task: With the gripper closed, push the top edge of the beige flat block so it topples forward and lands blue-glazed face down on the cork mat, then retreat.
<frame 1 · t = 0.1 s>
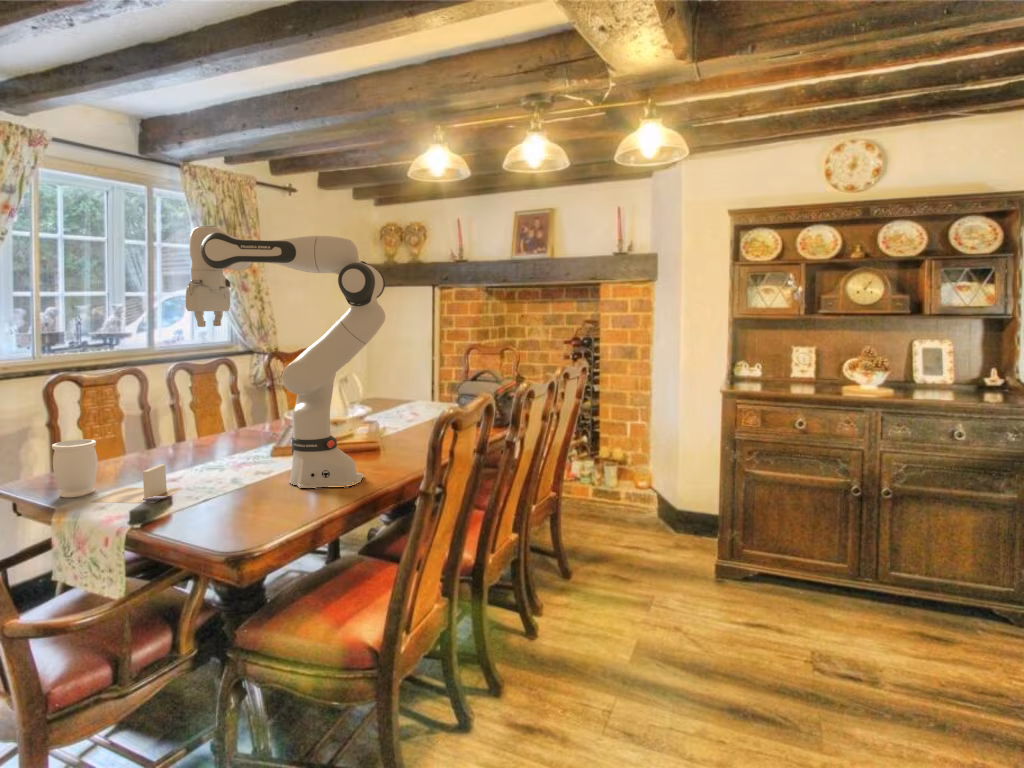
hand: (209, 326, 190), 48 cm above the table, fingers open, 8 cm apart
cork mat: (138, 497, 176), on the table
beige flat block: (155, 495, 176), point 1 cm above the table, touching cork mat
jar: (77, 494, 179), on the table
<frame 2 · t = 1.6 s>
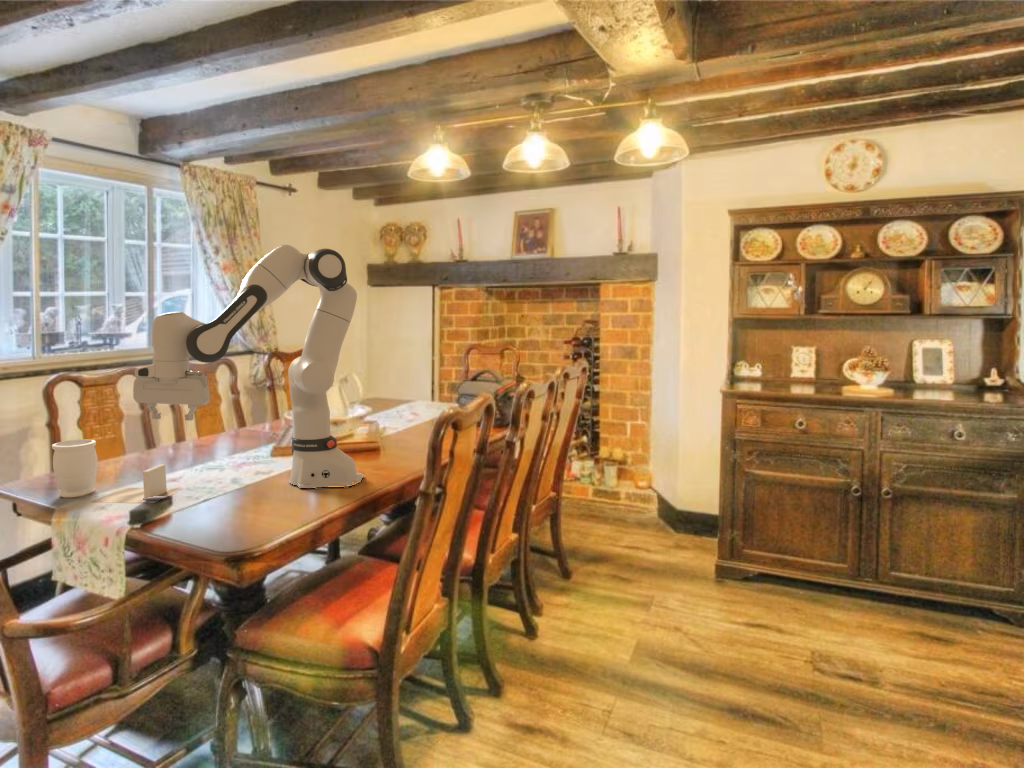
hand: (172, 419, 174), 22 cm above the table, fingers open, 8 cm apart
nothing on the table moved.
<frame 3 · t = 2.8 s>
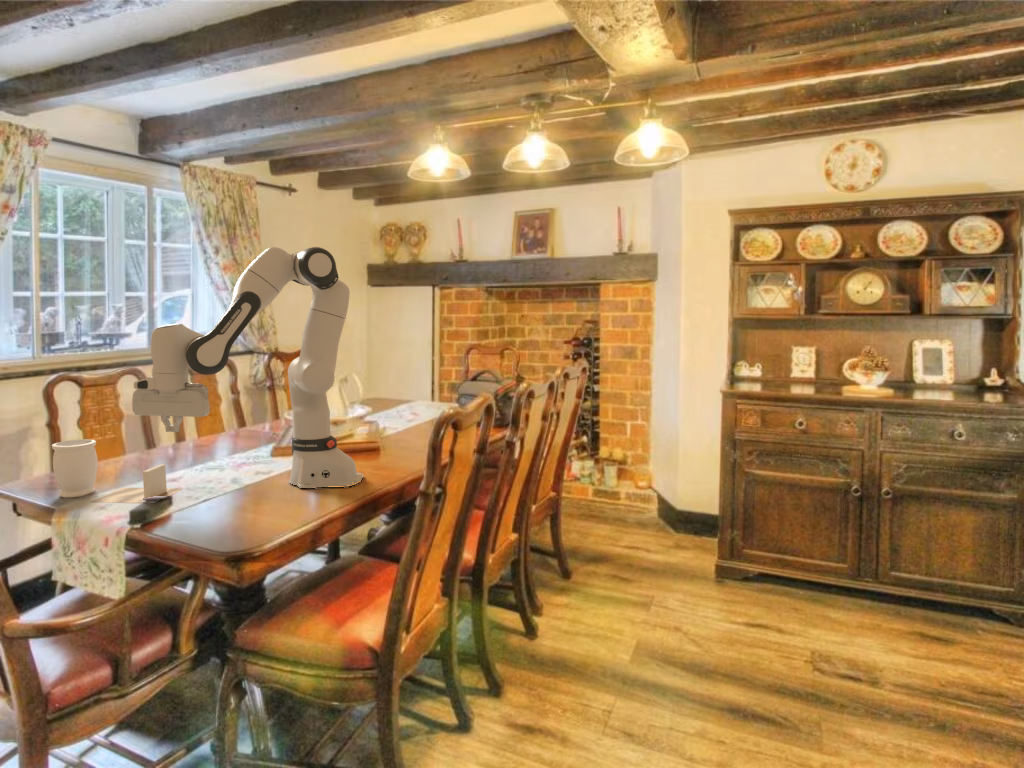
hand: (172, 431, 174), 19 cm above the table, fingers closed
nothing on the table moved.
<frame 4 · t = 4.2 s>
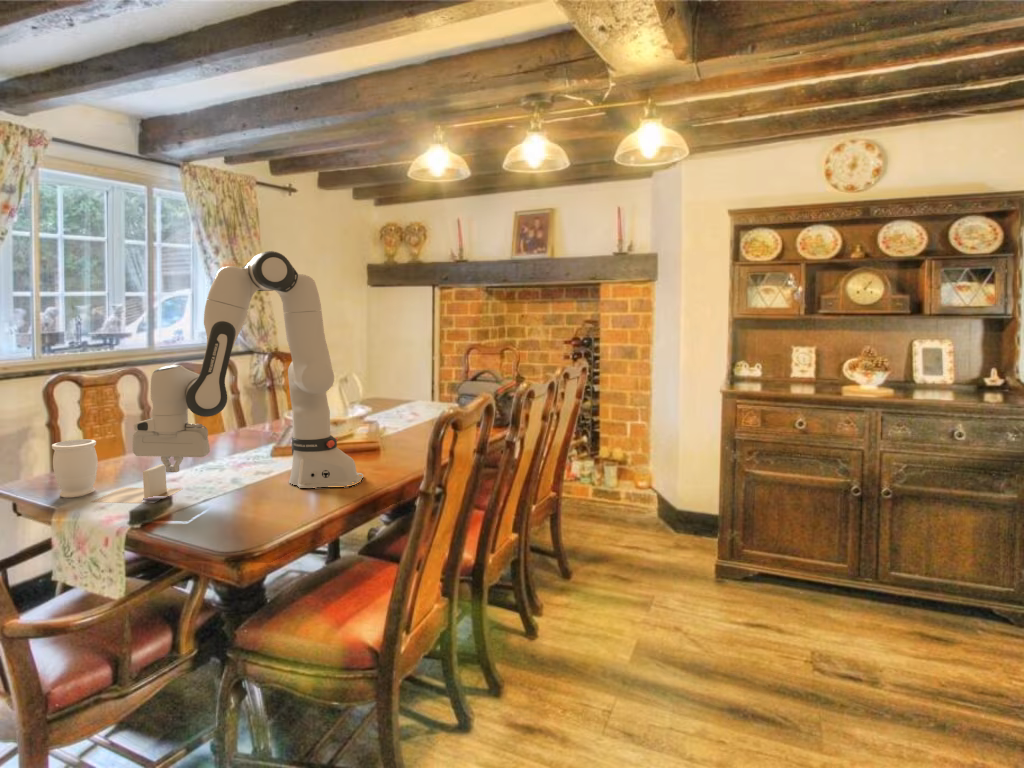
hand: (172, 471, 175), 8 cm above the table, fingers closed
nothing on the table moved.
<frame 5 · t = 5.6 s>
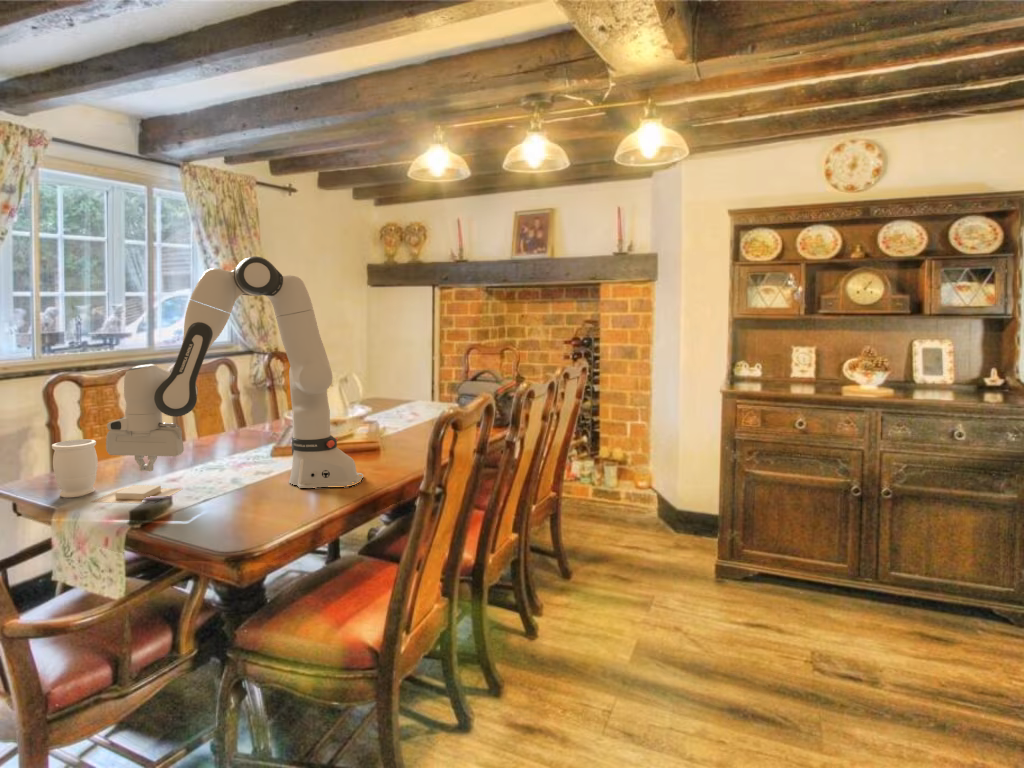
hand: (146, 470, 175), 8 cm above the table, fingers closed
beige flat block: (152, 492, 176), point 1 cm above the table, tilted 90°, touching cork mat
everything else where it was.
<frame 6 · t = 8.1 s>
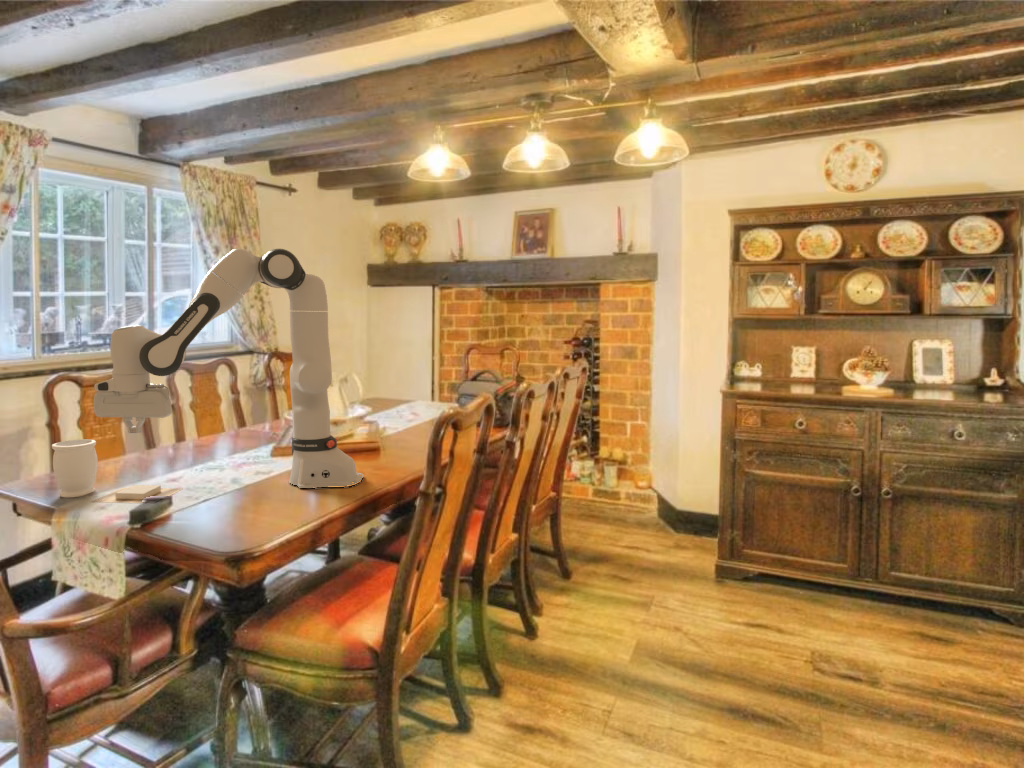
hand: (135, 432, 174), 19 cm above the table, fingers closed
nothing on the table moved.
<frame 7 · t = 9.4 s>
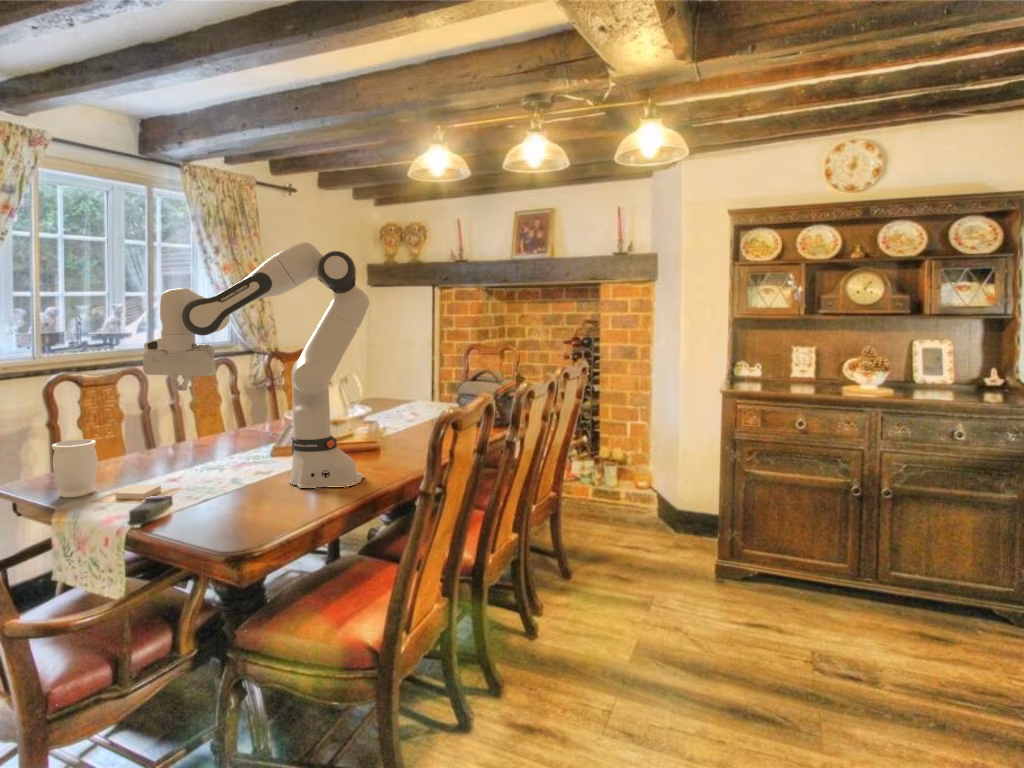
hand: (181, 390, 185), 29 cm above the table, fingers closed
nothing on the table moved.
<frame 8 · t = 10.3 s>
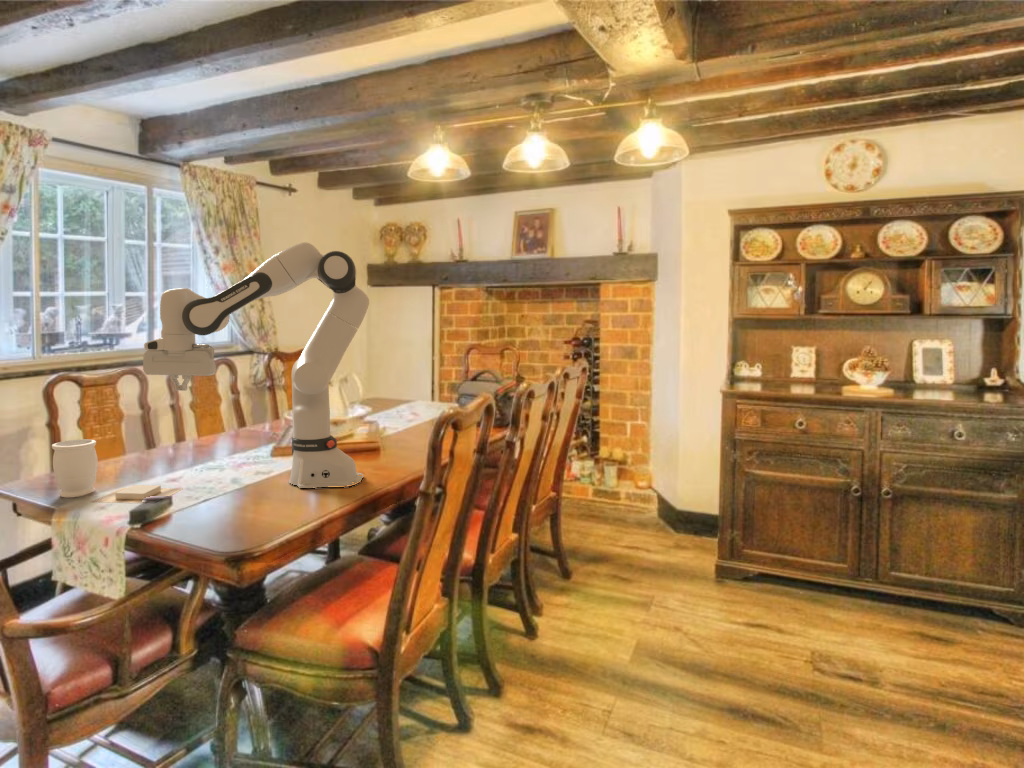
hand: (181, 390, 185), 29 cm above the table, fingers closed
nothing on the table moved.
at the end: beige flat block tilted 90°; beige flat block inside the target area on the cork mat (4.1 cm from its centre), point 1.5 cm above the cork mat's base; beige flat block touching cork mat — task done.
